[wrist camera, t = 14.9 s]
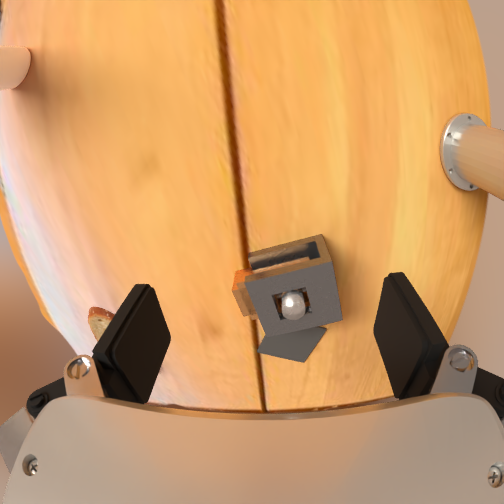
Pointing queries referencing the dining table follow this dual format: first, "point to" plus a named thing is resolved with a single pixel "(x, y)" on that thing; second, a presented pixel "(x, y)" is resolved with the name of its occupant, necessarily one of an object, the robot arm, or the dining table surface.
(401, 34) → the dining table surface
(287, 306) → the pin
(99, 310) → the slice of bread
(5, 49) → the alcohol
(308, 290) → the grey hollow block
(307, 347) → the mat
